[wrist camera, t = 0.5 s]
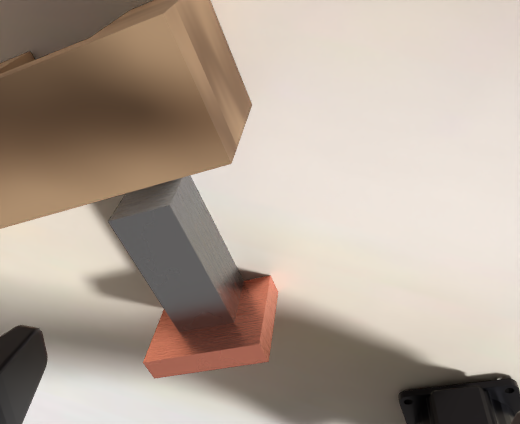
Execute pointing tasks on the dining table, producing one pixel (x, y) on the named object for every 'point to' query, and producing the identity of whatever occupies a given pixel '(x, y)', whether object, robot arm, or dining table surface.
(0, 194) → the block
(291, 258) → the dining table surface
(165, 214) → the pin
